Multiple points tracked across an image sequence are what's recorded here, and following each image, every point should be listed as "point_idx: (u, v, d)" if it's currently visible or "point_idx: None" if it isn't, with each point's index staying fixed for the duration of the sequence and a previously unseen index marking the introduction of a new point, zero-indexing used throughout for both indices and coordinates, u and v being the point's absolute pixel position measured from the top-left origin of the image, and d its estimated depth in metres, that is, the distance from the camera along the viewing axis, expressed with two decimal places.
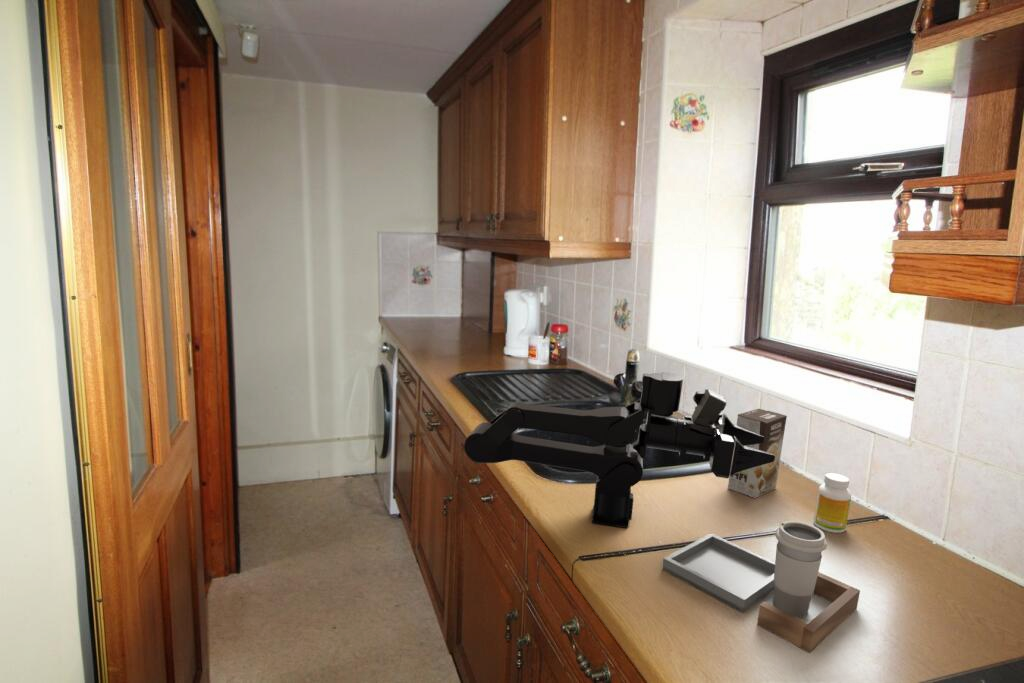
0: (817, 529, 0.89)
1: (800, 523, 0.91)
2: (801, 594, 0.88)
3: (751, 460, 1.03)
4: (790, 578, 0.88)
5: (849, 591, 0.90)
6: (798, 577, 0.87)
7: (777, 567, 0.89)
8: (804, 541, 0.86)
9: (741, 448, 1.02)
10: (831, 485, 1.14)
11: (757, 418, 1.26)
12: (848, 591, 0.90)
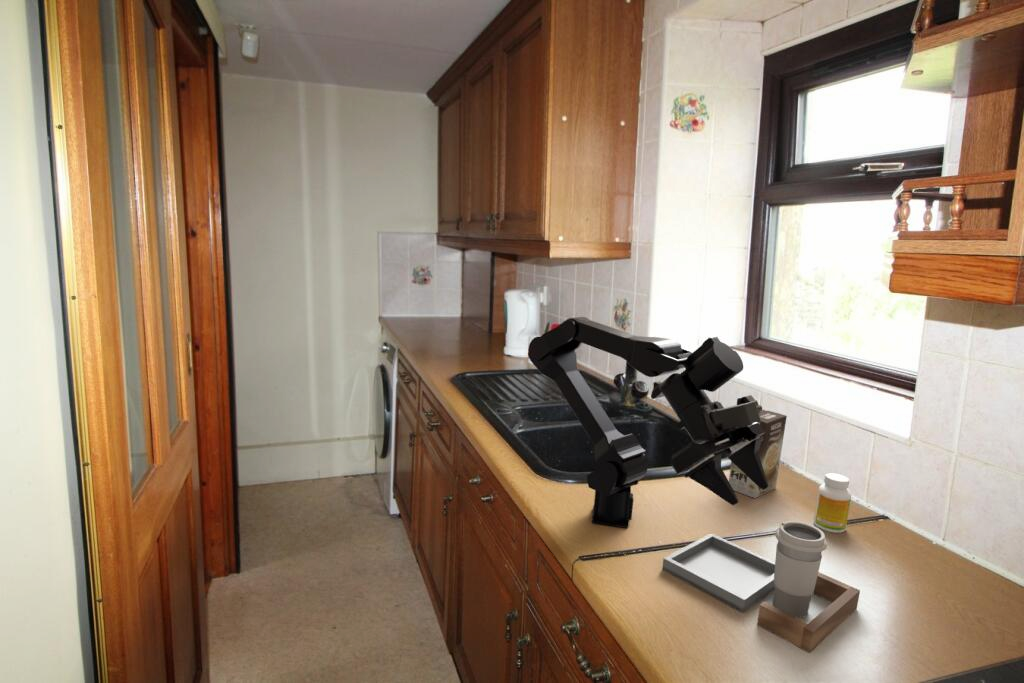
0: (817, 529, 0.89)
1: (800, 523, 0.91)
2: (801, 594, 0.88)
3: (714, 484, 0.92)
4: (790, 578, 0.88)
5: (849, 591, 0.90)
6: (798, 577, 0.87)
7: (777, 567, 0.89)
8: (804, 541, 0.86)
9: (713, 467, 0.91)
10: (831, 485, 1.14)
11: None
12: (848, 591, 0.90)
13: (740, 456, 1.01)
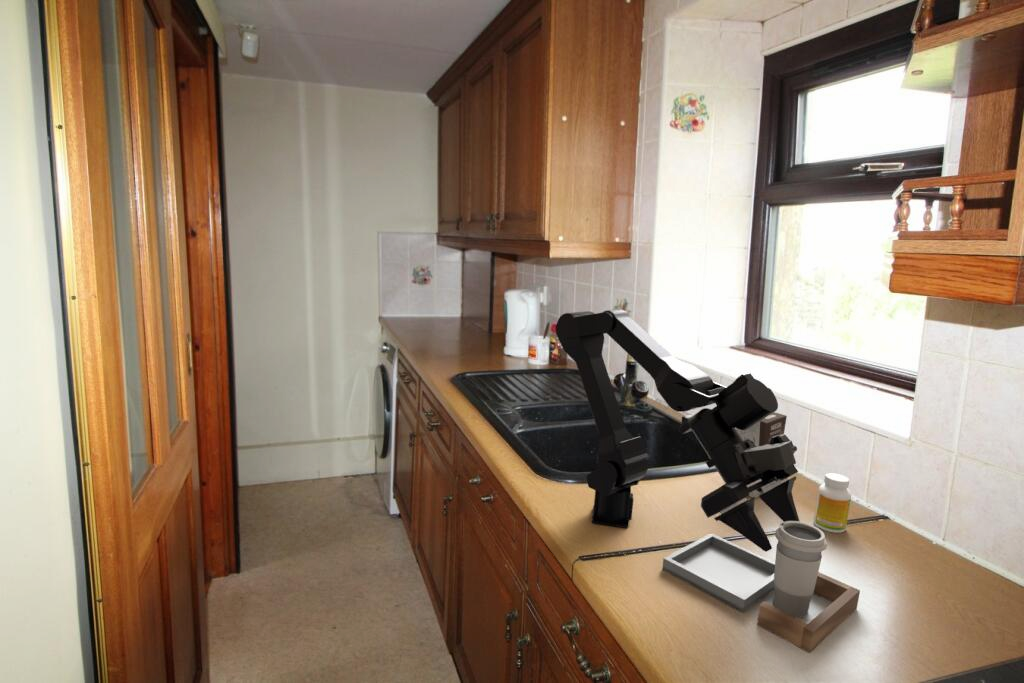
0: (817, 529, 0.89)
1: (800, 523, 0.91)
2: (801, 594, 0.88)
3: (746, 529, 0.89)
4: (790, 578, 0.88)
5: (849, 591, 0.90)
6: (798, 577, 0.87)
7: (777, 567, 0.89)
8: (804, 541, 0.86)
9: (746, 512, 0.87)
10: (831, 485, 1.14)
11: None
12: (848, 591, 0.90)
13: (772, 496, 0.97)
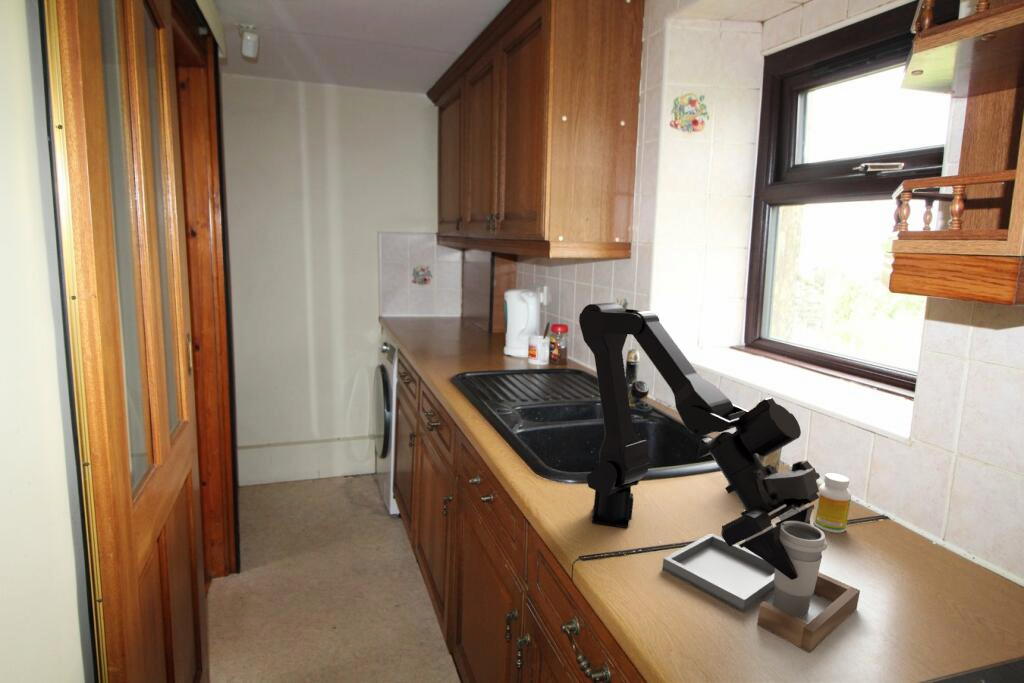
0: (817, 529, 0.89)
1: (800, 523, 0.91)
2: (801, 594, 0.88)
3: (771, 556, 0.87)
4: None
5: (849, 591, 0.90)
6: (798, 577, 0.87)
7: None
8: (804, 541, 0.86)
9: (772, 539, 0.86)
10: (831, 485, 1.14)
11: None
12: (848, 591, 0.90)
13: None
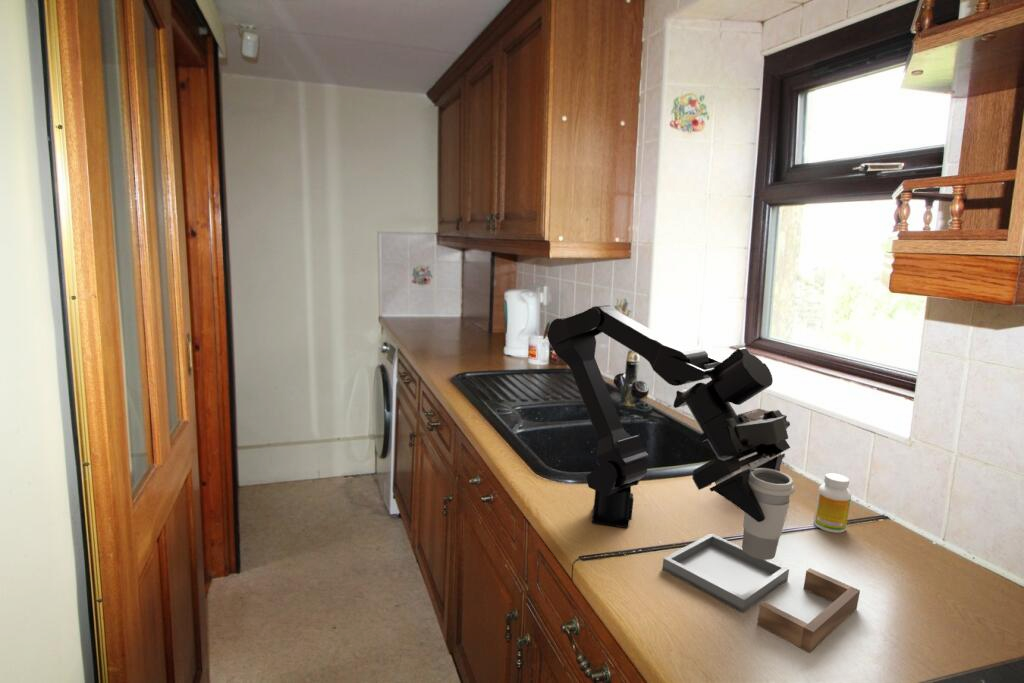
0: (786, 475, 0.92)
1: (770, 470, 0.94)
2: (768, 537, 0.90)
3: (740, 500, 0.90)
4: None
5: (849, 591, 0.90)
6: (766, 520, 0.90)
7: None
8: (772, 485, 0.89)
9: (740, 483, 0.89)
10: (831, 485, 1.14)
11: (757, 418, 1.26)
12: (848, 591, 0.90)
13: None
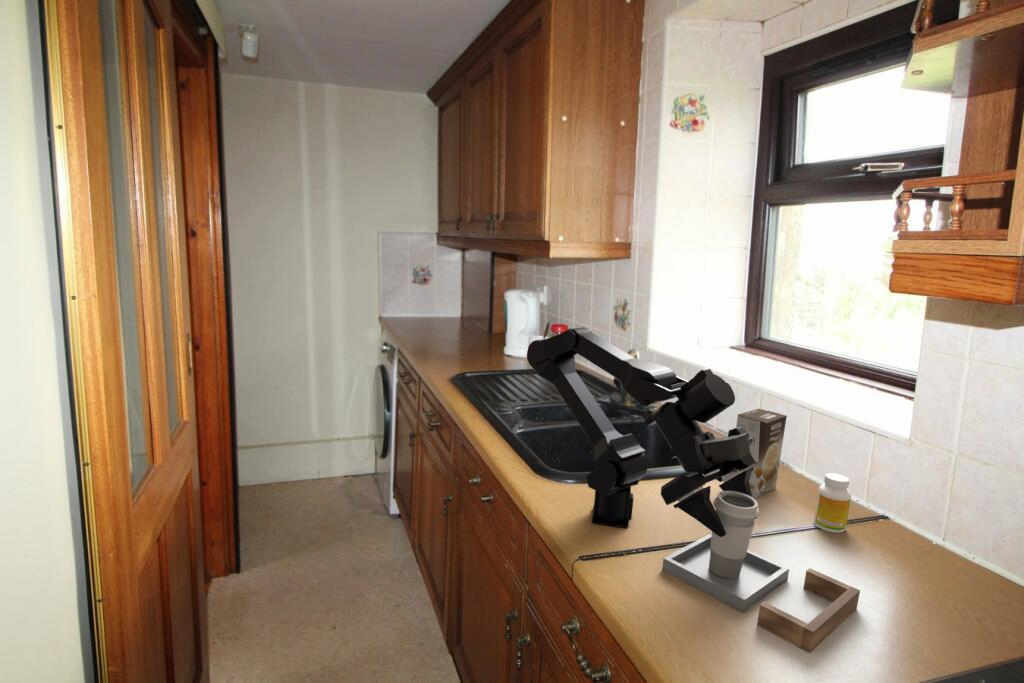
0: (752, 499, 0.97)
1: (737, 493, 0.98)
2: (733, 557, 0.95)
3: (702, 516, 0.94)
4: (724, 542, 0.95)
5: (849, 591, 0.90)
6: (731, 541, 0.94)
7: (713, 532, 0.97)
8: (737, 508, 0.93)
9: (702, 499, 0.93)
10: (831, 485, 1.14)
11: (757, 418, 1.26)
12: (848, 591, 0.90)
13: (731, 486, 1.02)
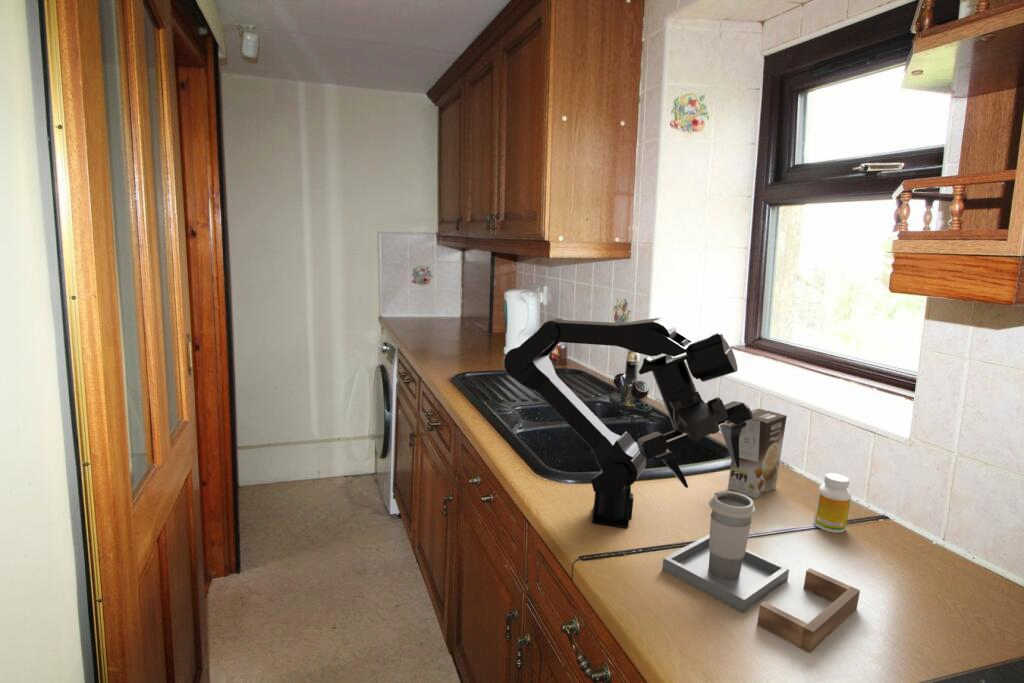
0: (748, 498, 0.97)
1: (733, 493, 0.99)
2: (732, 557, 0.95)
3: (670, 468, 1.06)
4: (721, 543, 0.95)
5: (849, 591, 0.90)
6: (728, 541, 0.95)
7: (711, 533, 0.97)
8: (733, 508, 0.93)
9: None
10: (831, 485, 1.14)
11: (757, 418, 1.26)
12: (848, 591, 0.90)
13: (724, 432, 1.07)
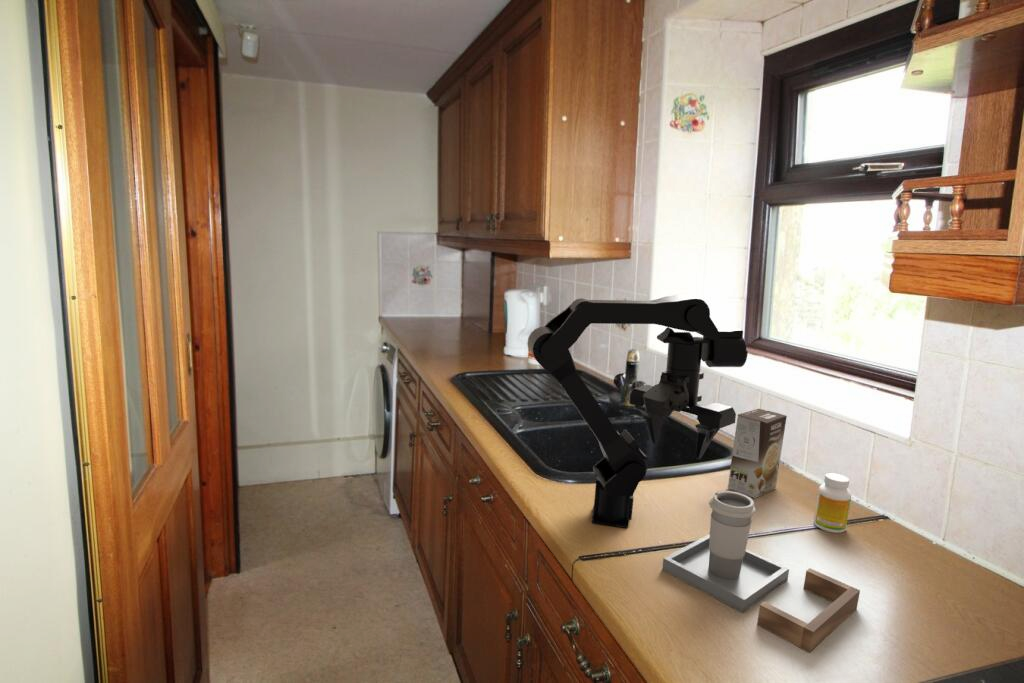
0: (748, 498, 0.97)
1: (733, 493, 0.99)
2: (732, 557, 0.95)
3: None
4: (721, 542, 0.95)
5: (849, 591, 0.90)
6: (729, 541, 0.95)
7: (711, 533, 0.97)
8: (733, 508, 0.93)
9: None
10: (831, 485, 1.14)
11: (757, 418, 1.26)
12: (848, 591, 0.90)
13: None
